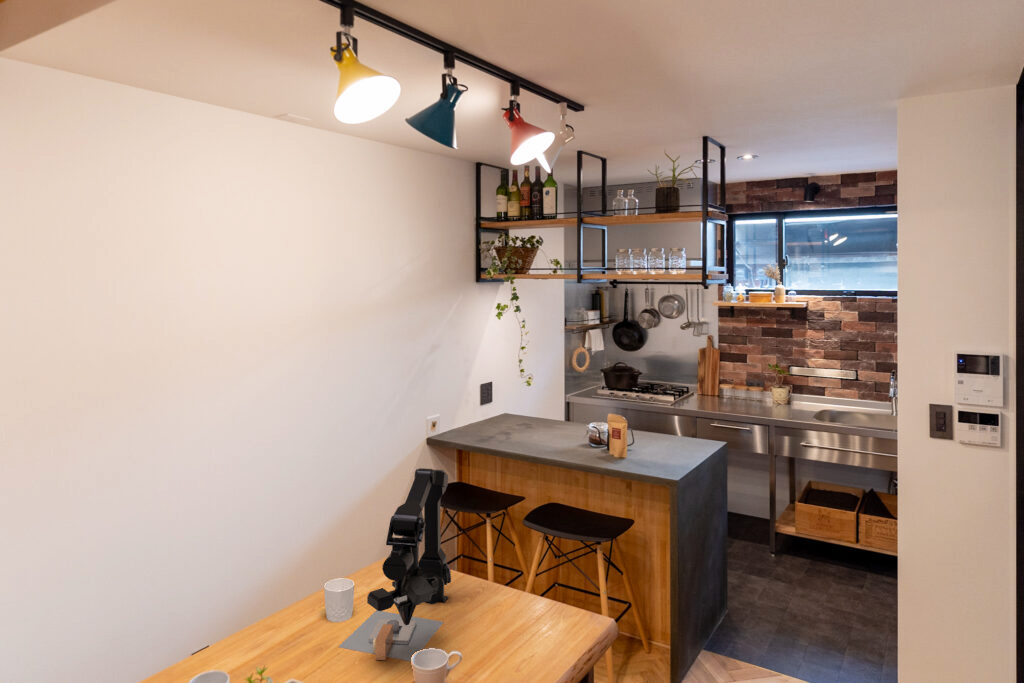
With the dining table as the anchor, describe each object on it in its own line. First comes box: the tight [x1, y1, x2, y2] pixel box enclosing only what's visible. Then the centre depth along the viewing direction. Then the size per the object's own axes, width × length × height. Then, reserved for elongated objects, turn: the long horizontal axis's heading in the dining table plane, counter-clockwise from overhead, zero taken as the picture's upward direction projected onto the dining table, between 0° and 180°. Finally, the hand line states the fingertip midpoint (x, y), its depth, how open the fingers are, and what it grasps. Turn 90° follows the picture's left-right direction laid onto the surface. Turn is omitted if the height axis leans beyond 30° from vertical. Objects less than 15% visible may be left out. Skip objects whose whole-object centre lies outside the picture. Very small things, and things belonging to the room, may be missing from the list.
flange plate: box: [369, 619, 416, 661], centre depth 172 cm, size 18×10×5 cm, turn 176°
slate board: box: [338, 609, 445, 662], centre depth 176 cm, size 20×20×4 cm
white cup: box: [323, 577, 355, 623], centre depth 184 cm, size 8×8×10 cm
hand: (406, 624), depth 167 cm, fingers closed
